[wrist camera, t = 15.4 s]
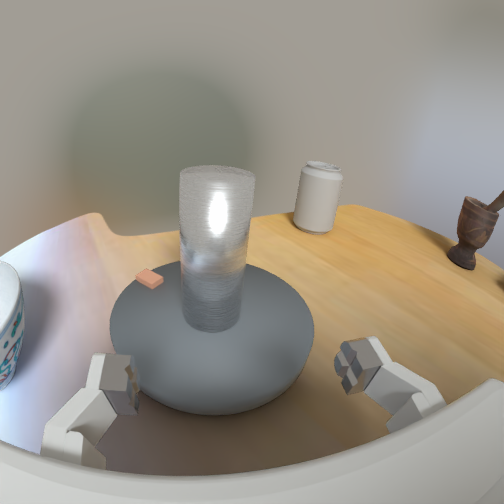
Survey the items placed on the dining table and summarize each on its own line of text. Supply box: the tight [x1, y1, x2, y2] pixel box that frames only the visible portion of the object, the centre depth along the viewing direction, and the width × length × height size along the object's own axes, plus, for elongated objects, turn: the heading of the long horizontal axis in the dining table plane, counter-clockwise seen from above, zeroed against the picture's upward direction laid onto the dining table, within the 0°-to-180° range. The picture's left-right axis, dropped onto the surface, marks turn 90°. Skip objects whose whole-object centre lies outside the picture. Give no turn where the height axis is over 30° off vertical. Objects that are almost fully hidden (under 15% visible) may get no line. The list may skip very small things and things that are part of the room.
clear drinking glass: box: [180, 165, 255, 333], centre depth 21 cm, size 5×5×12 cm
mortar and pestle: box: [448, 191, 504, 270], centre depth 40 cm, size 12×9×20 cm
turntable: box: [110, 261, 314, 415], centre depth 24 cm, size 18×18×3 cm
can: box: [293, 161, 343, 234], centre depth 48 cm, size 8×8×12 cm
